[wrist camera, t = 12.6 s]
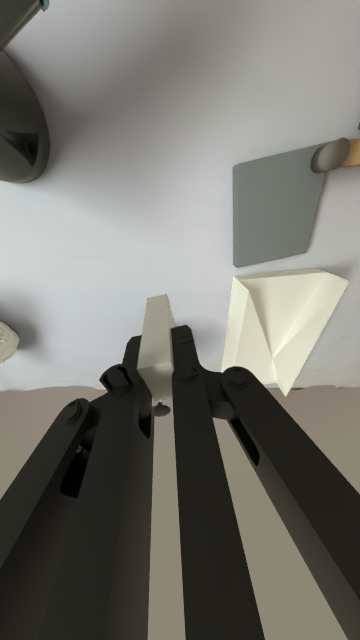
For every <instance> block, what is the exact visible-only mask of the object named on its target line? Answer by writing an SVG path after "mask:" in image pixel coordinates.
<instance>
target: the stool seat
mask: <svg viewBox="0 0 360 640" xmlns="http://www.w3.org/2000/svg"><path fill="white" fill-rule="evenodd" d="M332 142H333V141H332ZM328 143H330V142H327V143H323V144H319V145H315V146H311V147H307V148H303V149H299V150H294V151H290V152H286V153H282V154H278V155H274V156H270V157H265V158H261V159H257V160H253V161H249V162H245V163H241V164H237V165H235V166H234V167H233V265H234V266H235V267H236V268H239V267H244V266H248V265H253V264H257V263H262V262H267V261H271V260H276V259H280V258H285V257H289V256H294V255H298V254H303V253H306V252H307V248H308V244H309V240H310V235H311V231H312V227H313V223H314V219H315V215H316V210H317V206H318V202H319V198H320V194H321V190H322V186H323V181H324V177H325V173H326V171H325V172H320V173H314V172H313V171H312V170H311V160H312V157H313V155H314V153H315V152H316V150H317V149H318V148H319V147H321V146H322V145H325V144H328Z"/></svg>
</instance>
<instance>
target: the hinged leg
mask: <svg viewBox="0 0 360 640" xmlns="http://www.w3.org/2000/svg"><path fill="white" fill-rule="evenodd" d="M352 166H360V139H355V140H348V139H347V138H341V139H338V140H336V141H333V142H330V143H328V144H325V145H322V146H321V147H319V148H318V149H317V150H316V152H315V153H314V155H313V157H312V160H311V170H312V171H313V172H314V173H320V172H325V171H330V170H334V169H337V168H344V167H352Z"/></svg>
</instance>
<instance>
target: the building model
mask: <svg viewBox="0 0 360 640" xmlns="http://www.w3.org/2000/svg"><path fill="white" fill-rule="evenodd" d="M348 283H349V281H348V280H345V279H343V278H340V277H338V276H335V275H333V274H330V273H328V272H325V271H323V270H320V269H318V268H313V269H302V270H292V271H281V272H270V273H259V274H248V275H237V276H234V277H233V284H232V292H231V300H230V308H229V315H228V323H227V331H226V339H225V346H224V354H223V362H222V370H221V373H223V372H224V370H226V369H227V368H229V367H233V366H240V367H243V368H246V369H248V370H249V371H250V372H252V373H253V374H254V375H255V376H256V378H257V379H258V380H259V381H260V382H261V383H262V384H269V383H277V384H278V386H279V387H280V389H281V391H282V392H283V394H284V395H285V396H286V395H287V393H288V391H289V390H290V388H291V386H292V384H293V383H294V381H295V379H296V377H297V375H298V374H299V372H300V370H301V368H302V366H303V364H304V363H305V361H306V359H307V357H308V355H309V354H310V352H311V350H312V348H313V346H314V345H315V343H316V341H317V339H318V337H319V336H320V334H321V332H322V330H323V328H324V327H325V325H326V323H327V321H328V319H329V318H330V316H331V314H332V312H333V310H334V309H335V307H336V305H337V303H338V301H339V300H340V298H341V296H342V294H343V292H344V290H345V289H346V287H347V285H348Z"/></svg>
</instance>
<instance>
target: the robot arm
mask: <svg viewBox="0 0 360 640" xmlns="http://www.w3.org/2000/svg"><path fill="white" fill-rule="evenodd" d="M48 6H49V0H0V180H1V181H6V182H12V183H26V182H30V181H32V180H34V179H36V178H37V177H39V176H40V175H41V173H42V172H43V171H44V169H45V167H46V165H47V162H48V158H49V148H50V145H49V134H48V129H47V124H46V121H45V117H44V114H43V112H42V109H41V107H40V104H39V102H38V100H37V98H36V96H35V94H34V92H33V90H32V88H31V87H30V85H29V83H28V82H27V80H26V79H25V77H24V76H23V74H22V73H21V71H20V70H19V69H18V67H17V66H16V65H15V64H14V62H13V61H12V60H11V59H10V58H9V57H8V56H7V55H6V54H5V53H4V52H3V51H2V50H3V49H4V48H5V46H6V45H7V44H8V43H9V42H10V41H11V40H12V39H13V38H14V37H15V36H16V35H17V34H18V33H19V32H20V31H21V29H22V28H23V27H24V26H25V25H26V24H27V23H28V22H29V21H30V20H31V19H32V18H33V17H34V16H35V15H36V14H37V12H38V11H39V10H40V9H42V10H43V11H45V10H47V9H48ZM99 381H100V382H101V383H102V384H103V386H104V387H105V388H106V389H107V390H108V393H106V394H104V395H103V396H101V397H99V398H97V399H95V400H93V401H91V402H89V401H88V400H86V399H84V398H81V399H76V400H74V401H72V402H71V403H69V404H68V405H67V406H65V407H64V408H63V410H62V411H61V412H60V414H59V415H58V416H57V418H56V419H55V421H54V422H53V424H52V425H51V426H50V428H49V429H48V431H47V432H46V434H45V435H44V437H43V438H42V440H41V441H40V443H39V444H38V446H37V447H36V448H35V450H34V452H33V453H32V454H31V456H30V457H29V459H28V460H27V462H26V463H25V465H24V466H23V467H22V469H21V470H20V472H19V473H18V475H17V476H16V478H15V479H14V481H13V482H12V484H11V485H10V487H9V488H8V489H7V491H6V492H5V494H4V495H3V497H2V498H1V500H0V640H147V638H148V604H149V573H150V541H151V509H152V508H151V507H152V477H153V476H152V475H153V444H154V409H153V407H152V397H153V399H154V401H155V402H156V401H161V400H166V399H171V398H173V414H174V433H175V451H176V470H177V488H178V506H179V525H180V543H181V561H182V580H183V598H184V616H185V633H186V640H265V638H264V633H263V629H262V625H261V621H260V617H259V612H258V608H257V604H256V600H255V595H254V591H253V587H252V583H251V579H250V574H249V570H248V566H247V562H246V557H245V553H244V549H243V545H242V541H241V536H240V532H239V528H238V524H237V519H236V516H235V511H234V507H233V503H232V499H231V494H230V490H229V486H228V481H227V477H226V474H225V469H224V465H223V460H222V456H221V453H220V448H219V444H218V439H217V435H216V431H215V427H214V422H213V418H212V417H214V418H219V419H226V420H227V421H228V423H229V425H230V427H231V429H232V430H233V432H234V434H235V436H236V438H237V439H238V441H239V443H240V445H241V447H242V448H243V450H244V452H245V454H246V456H247V458H248V459H249V461H250V463H251V465H252V467H253V468H254V470H255V472H256V474H257V476H258V477H259V479H260V481H261V483H262V485H263V487H264V488H265V490H266V492H267V494H268V496H269V497H270V499H271V501H272V503H273V505H274V507H275V508H276V510H277V512H278V513H279V516H280V517H281V519H282V521H283V523H284V525H285V526H286V528H287V530H288V532H289V534H290V535H291V537H292V539H293V541H294V543H295V544H296V546H297V548H298V550H299V552H300V554H301V555H302V557H303V559H304V561H305V563H306V564H307V566H308V568H309V570H310V572H311V574H312V575H313V577H314V579H315V581H316V583H317V584H318V586H319V588H320V590H321V592H322V593H323V595H324V597H325V599H326V601H327V602H328V604H329V606H330V608H331V610H332V611H333V613H334V615H335V617H336V619H337V621H338V622H339V624H340V626H341V628H342V630H343V631H344V633H345V635H346V637H347V638H348V640H360V494H359V493H358V492H357V491H356V490H355V489H354V487H353V486H352V485H351V484H350V483H349V482H348V481H347V480H346V478H345V477H344V476H343V475H342V474H341V473H340V472H339V471H338V469H337V468H336V467H335V466H334V465H333V464H332V463H331V461H330V460H329V459H328V458H327V457H326V456H325V455H324V453H322V451H321V450H320V449H319V448H318V447H317V446H316V445H315V443H314V442H313V441H312V440H311V439H310V438H309V437H308V435H307V434H306V433H305V432H304V431H303V430H302V429H301V428H300V426H299V425H298V424H297V423H296V422H295V421H294V420H293V418H292V417H291V416H290V415H289V414H288V413H287V412H286V410H284V408H283V407H282V406H281V405H280V404H279V403H278V401H277V400H276V399H275V398H274V397H273V396H272V395H271V393H270V392H269V391H268V390H267V389H266V388H265V387H264V386H263V384H262V383H261V382H260V381H259V380H258V379H257V378H256V376H255V375H254V374H253V373H252V372H250V371H249V370H248V369H246V368H243V367H240V366H233V367H229V368H227V369H226V370H224V372H223V373H221V372H212V371H208V370H206V369H205V368H203V367H202V366H201V365H200V363H199V360H198V356H197V352H196V348H195V344H194V339H193V335H192V331H191V329H190V328H189V327H188V326H187V325H183V326H179V327H175V322H174V318H173V315H172V311H171V307H170V304H169V300H168V297H167V294H165V295H160V296H156V297H152V298H147V305H146V312H145V318H144V325H143V332H142V335H140V336H135V337H132V338H131V339H130V340H129V342H128V343H127V346H126V351H125V354H124V358H123V362H122V364H117V365H114V366H112V367H110V368H109V369H107V370H106V371H105V372H104V373H103V374H102V376H101V378H100V379H99ZM79 446H80V447H79Z"/></svg>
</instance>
